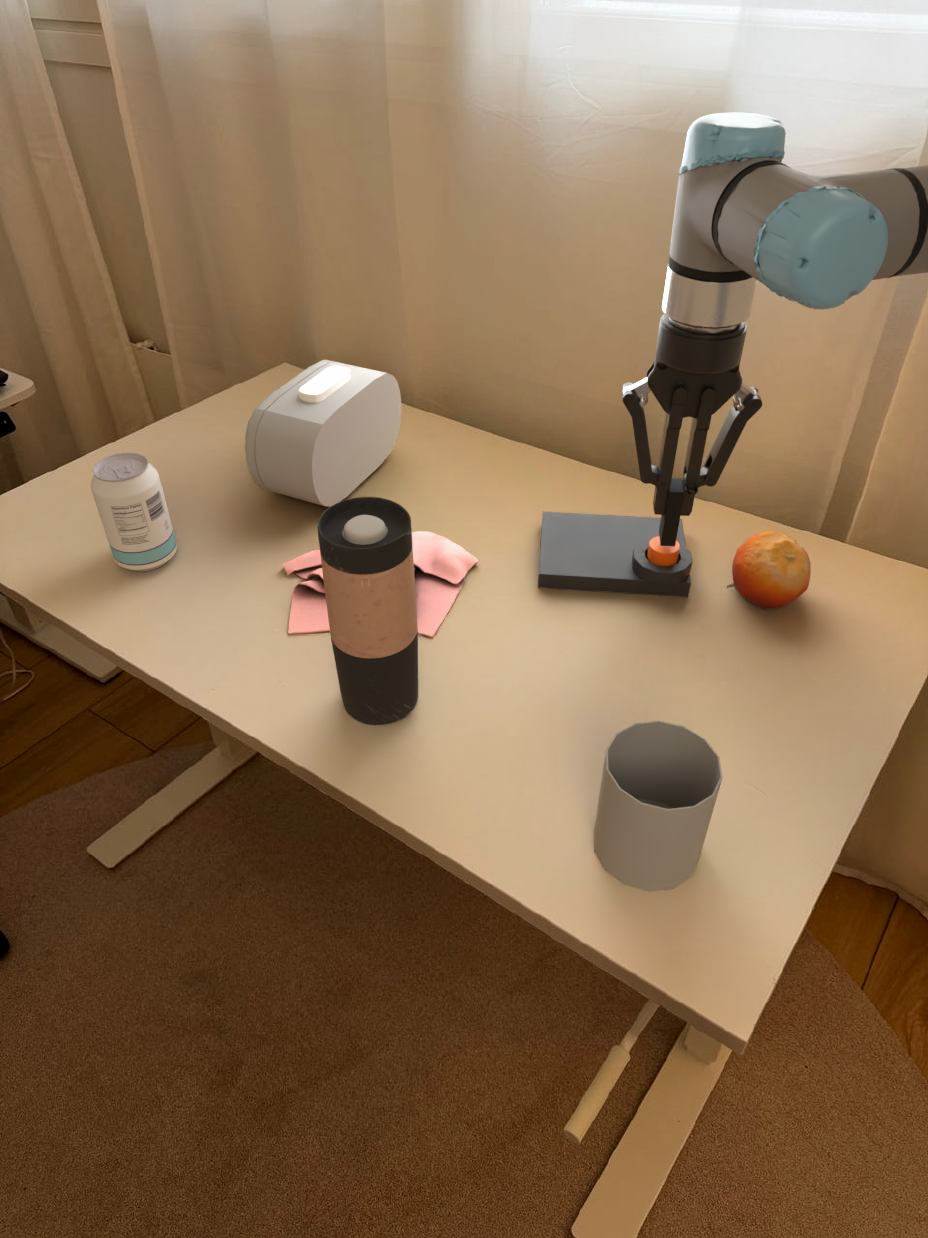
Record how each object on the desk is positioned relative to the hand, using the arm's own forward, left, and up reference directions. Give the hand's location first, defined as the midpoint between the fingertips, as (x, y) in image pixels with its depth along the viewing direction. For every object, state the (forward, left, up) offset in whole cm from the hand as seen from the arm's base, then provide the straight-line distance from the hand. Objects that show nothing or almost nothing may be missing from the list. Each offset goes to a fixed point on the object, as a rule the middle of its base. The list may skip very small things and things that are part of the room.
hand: (666, 538), depth 93 cm
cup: (+3, +34, -6) cm, 35 cm away
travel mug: (+27, +20, -6) cm, 34 cm away
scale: (+5, -4, -6) cm, 9 cm away
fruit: (-11, +1, -6) cm, 13 cm away
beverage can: (+57, +1, -6) cm, 57 cm away
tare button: (0, 0, -3) cm, 3 cm away
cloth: (+31, +3, -6) cm, 32 cm away
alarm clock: (+40, -18, -6) cm, 44 cm away
